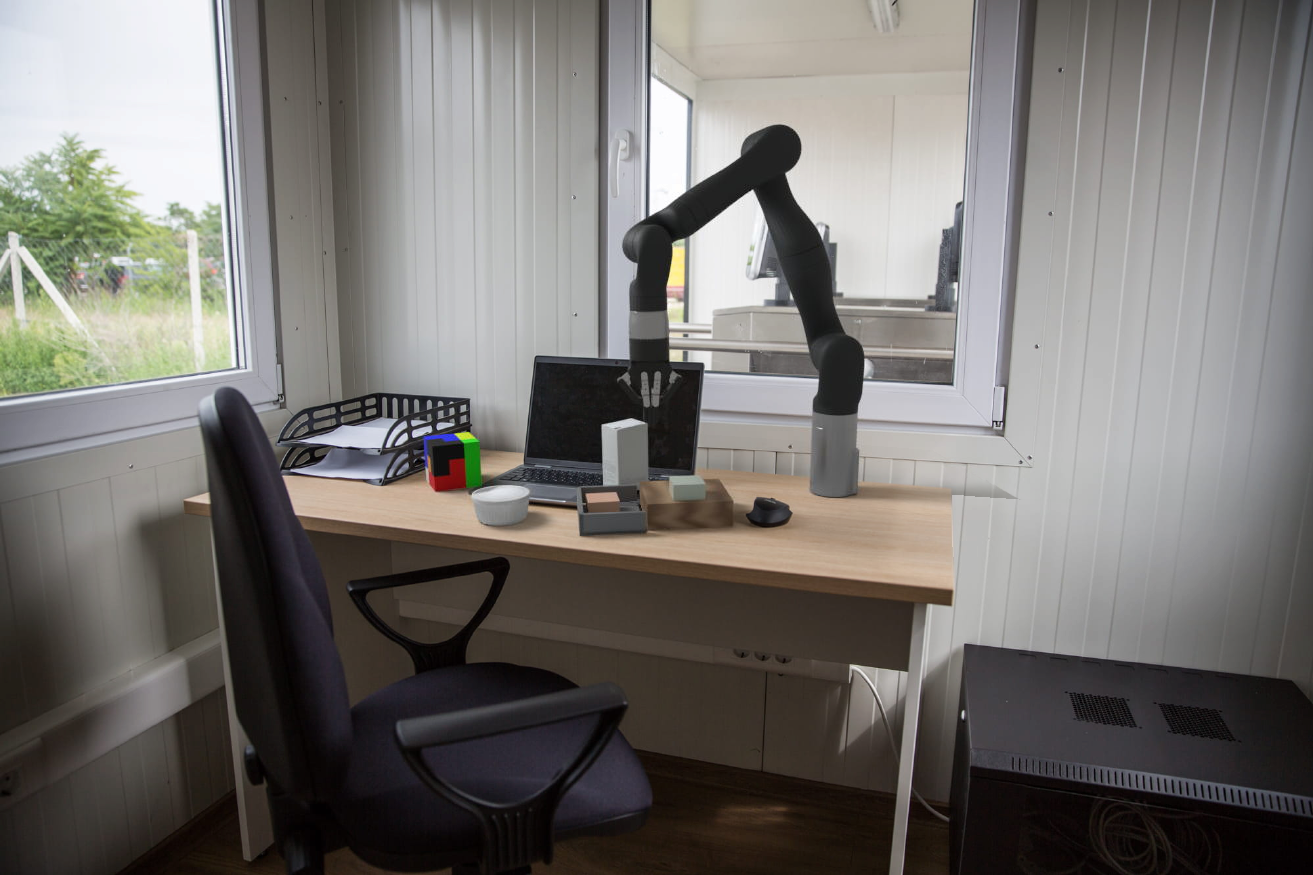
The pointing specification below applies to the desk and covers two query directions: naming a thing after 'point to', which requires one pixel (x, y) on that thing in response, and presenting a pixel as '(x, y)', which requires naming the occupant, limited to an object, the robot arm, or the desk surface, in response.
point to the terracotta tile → (602, 502)
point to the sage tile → (687, 487)
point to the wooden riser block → (685, 507)
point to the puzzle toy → (452, 461)
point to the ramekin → (501, 504)
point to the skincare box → (625, 452)
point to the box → (611, 522)
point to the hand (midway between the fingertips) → (651, 425)
